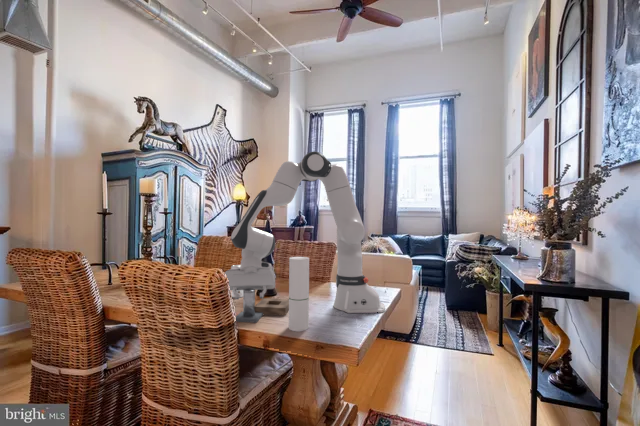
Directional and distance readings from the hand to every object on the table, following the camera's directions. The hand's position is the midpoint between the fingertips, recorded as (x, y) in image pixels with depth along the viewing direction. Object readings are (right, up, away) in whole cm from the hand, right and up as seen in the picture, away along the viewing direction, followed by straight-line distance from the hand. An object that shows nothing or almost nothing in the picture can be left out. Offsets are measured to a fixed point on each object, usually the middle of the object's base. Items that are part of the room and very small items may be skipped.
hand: (249, 298), depth 121 cm
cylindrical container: (+20, -8, -10) cm, 24 cm away
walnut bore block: (+8, -8, +11) cm, 15 cm away
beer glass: (-13, -8, +32) cm, 35 cm away
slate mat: (0, -8, 0) cm, 8 cm away
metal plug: (0, -7, 0) cm, 7 cm away
